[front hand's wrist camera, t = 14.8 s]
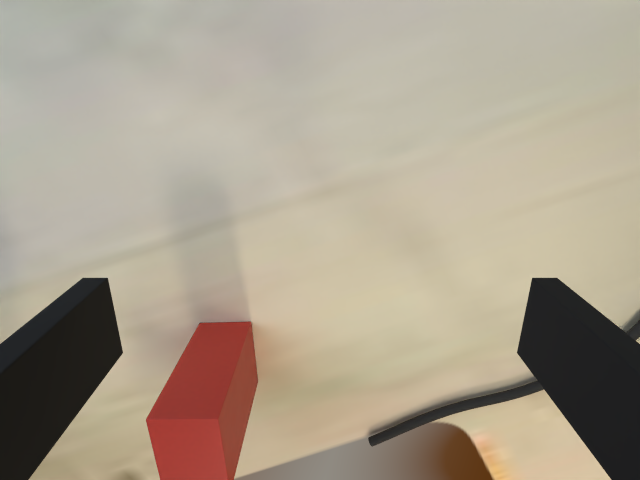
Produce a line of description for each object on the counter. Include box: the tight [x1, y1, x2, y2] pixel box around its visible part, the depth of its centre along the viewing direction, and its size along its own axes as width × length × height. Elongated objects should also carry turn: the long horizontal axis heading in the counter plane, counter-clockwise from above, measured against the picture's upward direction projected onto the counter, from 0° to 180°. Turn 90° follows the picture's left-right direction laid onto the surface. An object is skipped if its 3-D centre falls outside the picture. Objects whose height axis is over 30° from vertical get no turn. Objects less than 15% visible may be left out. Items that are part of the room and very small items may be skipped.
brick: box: [146, 322, 258, 480], centre depth 32 cm, size 5×7×12 cm
